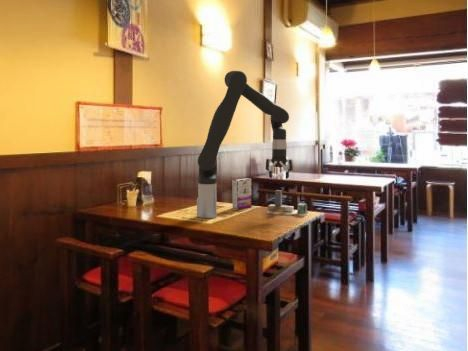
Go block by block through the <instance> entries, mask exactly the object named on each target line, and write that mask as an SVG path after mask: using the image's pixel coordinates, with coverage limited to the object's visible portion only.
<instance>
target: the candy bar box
mask: <svg viewBox="0 0 468 351" xmlns="http://www.w3.org/2000/svg"><path fill="white" fill-rule="evenodd" d="M252 182H253V181H252V178H248V177H247V178H239V179H232V180H231V185H232V186H231V187H232V188H231V189H232V192H231V193H232V202H231V203H232V209H236V210H241V209H246V208H251V207H252V204H253V203H252V196H253V193H252V190H253V188H252V184H253V183H252Z"/></svg>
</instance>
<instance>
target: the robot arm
mask: <svg viewBox="0 0 468 351" xmlns="http://www.w3.org/2000/svg"><path fill="white" fill-rule="evenodd" d="M224 84H225V86H226V87H227V89H226V93H225V95H224V97H223V99H222V100H221V102H220V104H219V105H218V106H217V108H216V109H215V111H214V114H213V116H212V120H211V123H210V126H209V128H208V132H207V135H206V136H207V137H206V140H205V142H204V145H203V147H202V149H201V152H200V154H199V156H198V158H197V165H198V178H197V179H198V181H197V183H198V184H197V185H198V189H197V190H198V191H197V192H198V193H197V194H198V197H197V198H196V217H197V218H201V219H214V218H216V217H217V209H218V208H217V206H218V205H217V204H218V203H217V202H218V201H217V178H218V158H217V157H218V154H219V150H220V147H221V144H222V143H223V141H224V139H225V137H226V136H227V133H228V132H229V128H230V126H231V123H232V121H233V117H234V114H235V112H236V109H237V106H238V104H239V101H240V98H241V96H243V97H244V98H245V99H247V100H248V101H249V102H250V103H251V104H253V105H254V106H255V107H256V108H258V109H259V110H260V111H261V112H262V113H264V114H265V115H267V116H270V125H271V130H272V143H271V144H272V145H271V146H272V148H271V152H272V153H271V158H266V159H265V170H266V171H268V177H269V179H273V170H274V169H275V168H283V169H284V171H285V180H288V179H289V177H290V172H291V171H293V168H294V167H293V159H291V158H290V159H287V149H288V148H287V129H286V128H284V127H283V124H286V123H287V122H288V121H289V120H290V115H289V113H288V111H287V110H286V109H285V108H284V107H282V106H280V105H278V104H276V103H274V102H273V101H272V100H271V99H269V98H268V97H267V96H266V95H265V94H264V93H261V92H260V91H258V90H256V89H255V88H254V87H252V86H251V85H249V84H248V78H247V75H246V73H245V72H243V71H242V70H241V71H240V70H231V71H228V72H227V73H226V74H225V75H224ZM271 163H272V165H271V166H270V164H271ZM287 163H288V165H287ZM288 166H289V167H288Z"/></svg>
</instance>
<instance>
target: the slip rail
mask: <svg viewBox="0 0 468 351" xmlns="http://www.w3.org/2000/svg"><path fill="white" fill-rule="evenodd" d="M269 205H275V203H271V204H269ZM269 205H267V211H266V214H270V215H278V216H279V215H280V216H291V215H294V217H303V216H304V217H305V216H307V214H309V212H308V203H304V202H303V203H302V202H299V203H298V204H297V209H294V211H293V212H289V211H285V207H282V206H288V205H287V204H282V206H269Z"/></svg>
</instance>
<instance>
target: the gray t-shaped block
mask: <svg viewBox="0 0 468 351" xmlns="http://www.w3.org/2000/svg"><path fill="white" fill-rule="evenodd" d="M274 192H275V193H274V194H275V196H274V204H275V205H270V204H269V205H268V206H282V205H283V190H280V189H276V190H274ZM294 206H295V205H287V206H282V207H285V211H289V212H293V211H294V210H295V209H294V208H295V207H294Z"/></svg>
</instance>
